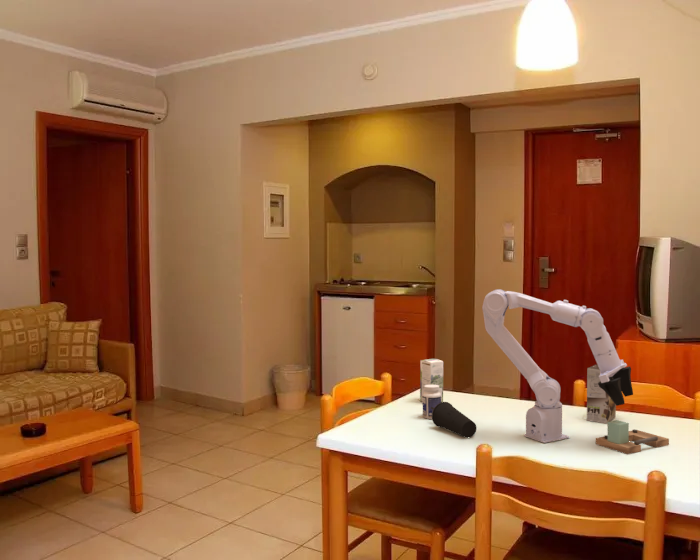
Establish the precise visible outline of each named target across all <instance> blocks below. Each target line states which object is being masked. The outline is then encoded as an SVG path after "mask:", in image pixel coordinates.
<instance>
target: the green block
mask: <svg viewBox="0 0 700 560" xmlns="http://www.w3.org/2000/svg"><path fill="white" fill-rule="evenodd" d="M629 427H630V426H629V423H628V422H625V421H622V420H619V419H614V420H611V421H609V422H608V423H607V435H608V439H607V441H610V442H613V443H617V444H623V443H627V442H629V431H630V429H629Z"/></svg>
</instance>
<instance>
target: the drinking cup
mask: <svg viewBox="0 0 700 560" xmlns="http://www.w3.org/2000/svg"><path fill="white" fill-rule="evenodd" d="M431 409H432V410H433V412H432V419H431V420H432V422H433V424H434V425H435V426H436V427H439V426H440V427H439V428H443V429H445V430H447V431H449V432H452V433H454V434H456V435H459V436H461V437H463V438H466V439H469V438H468V437H470V438H473V436H475V434H476V432H477V424H476V423H475V422H474V421H473V420H471V419H470V418H469V417H468V416H466V415H465V414H463V413H462V412H461V411H459V410H458V409H457V408H455V407H454V406H453V404H452V403H450V402H448V401H443V402H441V403H439V404H437V405H436V406H435V408H433V407H431Z"/></svg>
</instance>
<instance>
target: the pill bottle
mask: <svg viewBox="0 0 700 560" xmlns="http://www.w3.org/2000/svg"><path fill="white" fill-rule="evenodd" d="M424 390H425V392H424V393H423V402H422V417H423V418H424V419H426V418H427V419H426V420H432V412H433V410H432V409H431V407H433V408H435V406H436V405H437V404H439V403H441V394H440V393H439V385H425V386H424Z"/></svg>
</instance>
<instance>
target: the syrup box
mask: <svg viewBox="0 0 700 560" xmlns="http://www.w3.org/2000/svg"><path fill="white" fill-rule="evenodd" d="M419 362H420V363H419V364H420V369H419V371H420V373H419V374H420V375H419V376H420V377H419V378H420V381H419V382H420V383H419V401H420V402H422V403H423V393H424V392H425V390H424V386H425V385H439V393H440V394H441V402H444V361H443V360H440V359H438V358H429V359H427V358H426V359H420V361H419Z"/></svg>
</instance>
